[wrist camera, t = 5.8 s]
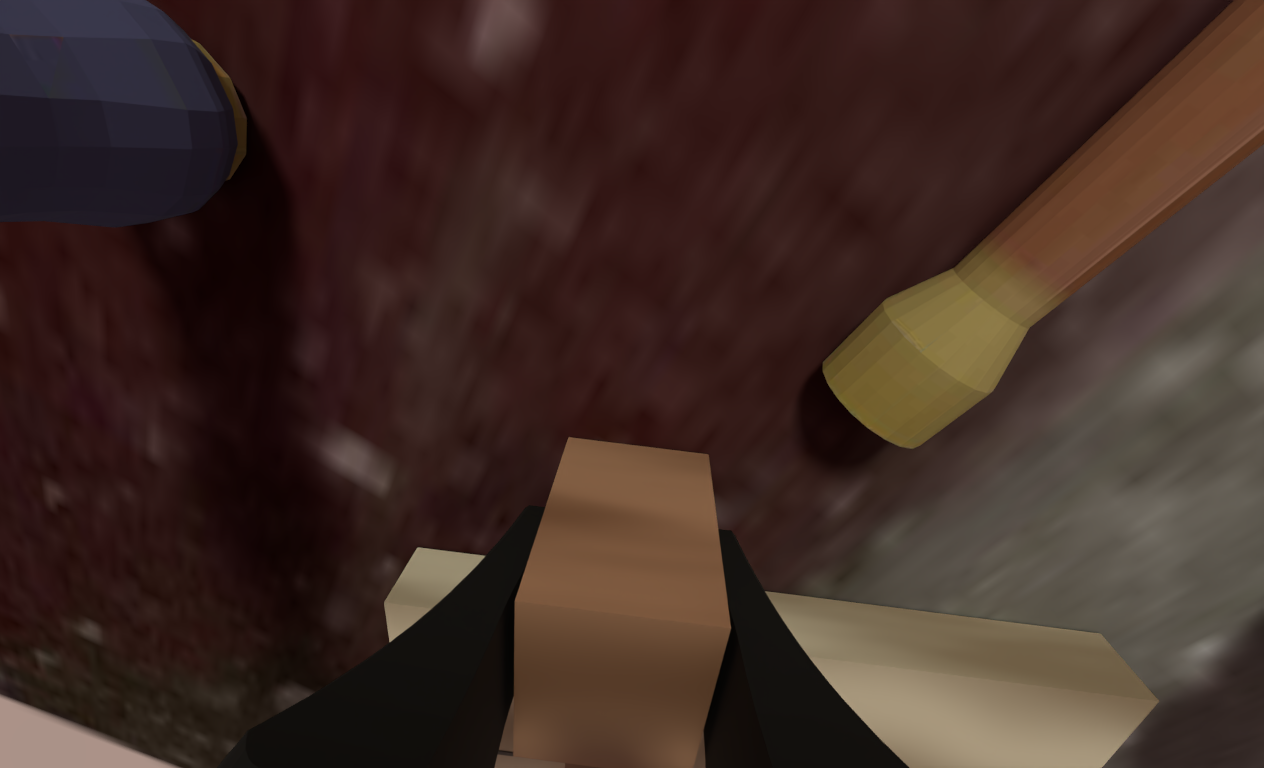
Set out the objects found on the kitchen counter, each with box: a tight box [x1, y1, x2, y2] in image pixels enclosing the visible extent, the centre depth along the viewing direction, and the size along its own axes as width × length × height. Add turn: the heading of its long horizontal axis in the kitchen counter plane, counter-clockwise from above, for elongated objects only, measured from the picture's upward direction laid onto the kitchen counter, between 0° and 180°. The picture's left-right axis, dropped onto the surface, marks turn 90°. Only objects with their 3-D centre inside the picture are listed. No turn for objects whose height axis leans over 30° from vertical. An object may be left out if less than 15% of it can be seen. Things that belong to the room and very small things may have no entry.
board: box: [384, 547, 1159, 768], centre depth 16 cm, size 10×20×2 cm, turn 84°
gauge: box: [513, 437, 731, 768], centre depth 13 cm, size 11×4×5 cm, turn 174°
